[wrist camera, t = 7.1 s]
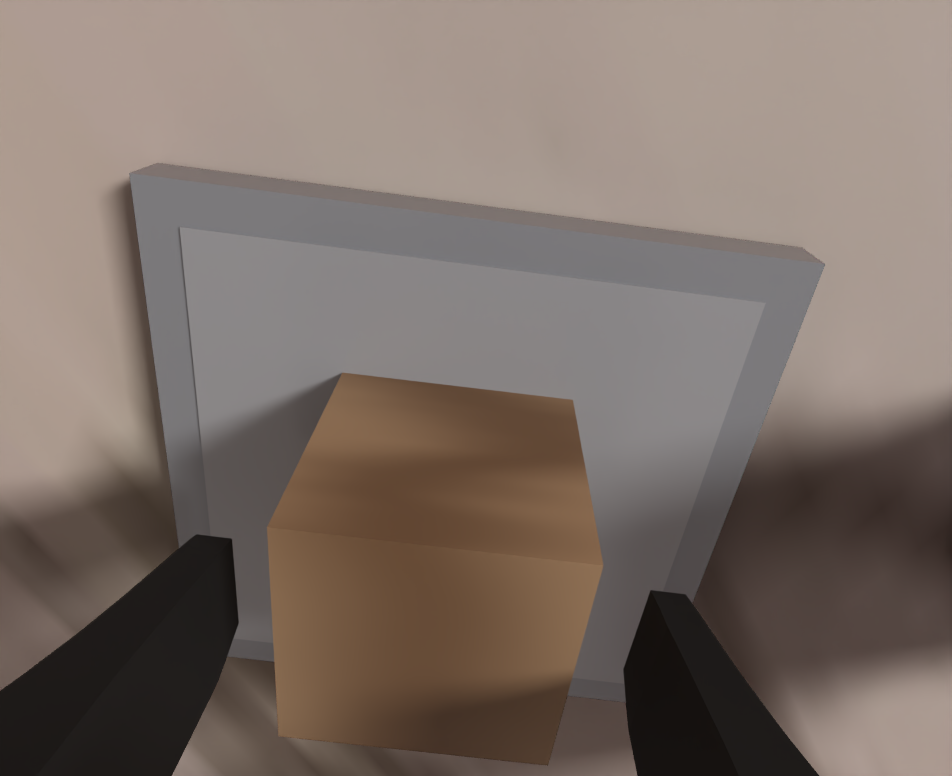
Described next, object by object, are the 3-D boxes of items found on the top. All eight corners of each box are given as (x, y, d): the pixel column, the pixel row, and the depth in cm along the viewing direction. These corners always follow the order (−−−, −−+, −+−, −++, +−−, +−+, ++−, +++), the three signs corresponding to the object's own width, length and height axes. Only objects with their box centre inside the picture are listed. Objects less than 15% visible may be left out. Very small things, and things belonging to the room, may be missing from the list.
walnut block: (572, 399, 13) (603, 566, 9) (537, 570, 15) (547, 765, 11) (342, 373, 13) (266, 527, 9) (340, 547, 15) (278, 736, 11)
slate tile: (802, 247, 12) (827, 265, 11) (644, 672, 18) (652, 707, 17) (157, 162, 12) (127, 173, 11) (208, 621, 18) (191, 654, 17)
